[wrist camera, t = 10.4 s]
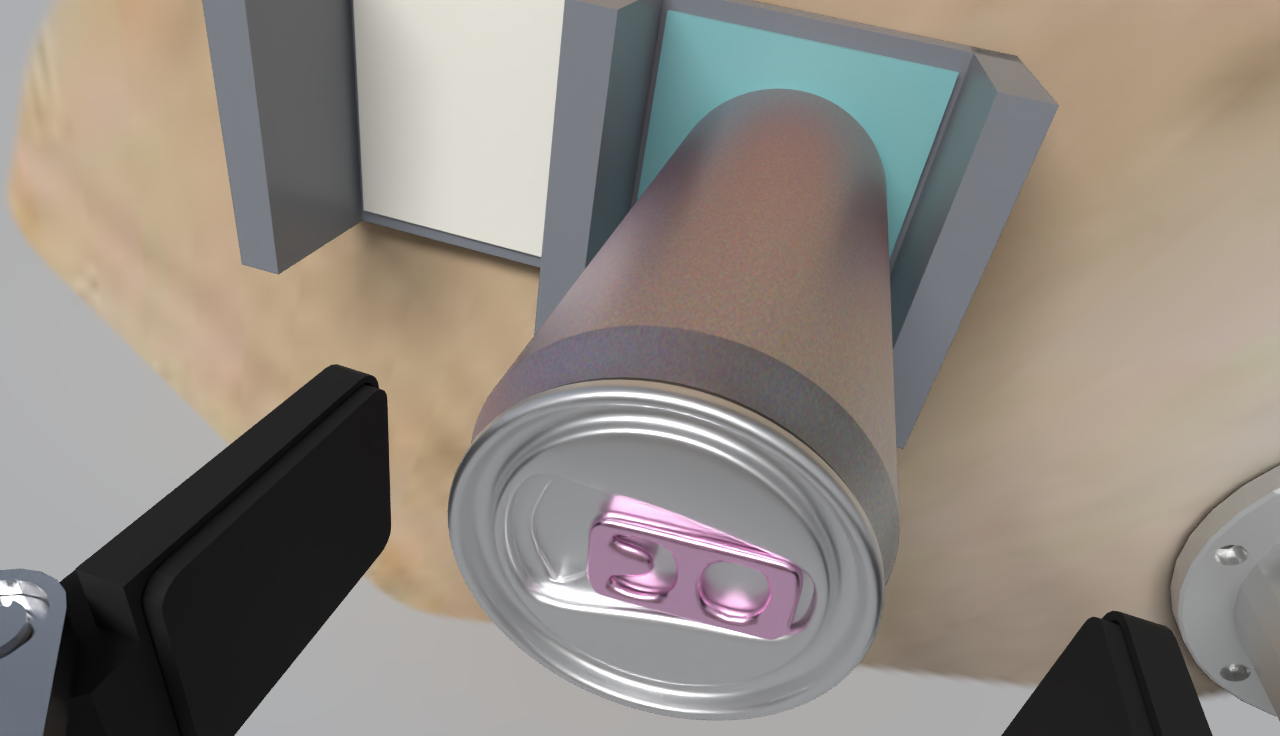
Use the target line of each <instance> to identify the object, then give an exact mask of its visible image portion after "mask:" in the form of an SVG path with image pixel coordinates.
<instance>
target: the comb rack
mask: <svg viewBox="0 0 1280 736" xmlns="http://www.w3.org/2000/svg"><path fill="white" fill-rule="evenodd" d="M202 3H203V10H204V16H205V23H206V29H207V36H208V43H209V49H210V56H211V62H212V69H213V76H214V82H215V89H216V96H217V102H218V109H219V115H220V122H221V129H222V135H223V142H224V148H225V155H226V162H227V168H228V175H229V181H230V188H231V195H232V201H233V208H234V215H235V221H236V228H237V234H238V241H239V248H240V254H241V261H242V264H243V265H246V266H250V267H253V268H257V269H260V270H264V271H268V272H271V273H275V274H280V273H281V272H283V271H285V270H286V269H288V268H289V267H291V266H292V265H294V264H295V263H297V262H299V261H300V260H302V259H303V258H305V257H306V256H308V255H309V254H311V253H312V252H314V251H316V250H317V249H319V248H320V247H322V246H323V245H325V244H326V243H328V242H330V241H331V240H333V239H334V238H336V237H337V236H339V235H340V234H342V233H344V232H345V231H347V230H348V229H350V228H351V227H353V226H354V225H356V224H358V223H359V222H361V221H366V222H370V223H374V224H377V225H381V226H385V227H389V228H393V229H396V230H400V231H404V232H408V233H411V234H415V235H419V236H423V237H426V238H430V239H434V240H438V241H442V242H445V243H449V244H453V245H457V246H460V247H464V248H468V249H472V250H475V251H479V252H483V253H487V254H491V255H494V256H498V257H502V258H506V259H509V260H513V261H517V262H521V263H524V264H528V265H532V266H536V267H540V277H539V288H538V299H537V310H536V321H535V332H534V335H535V334H536V333H537V332H538V330H539V329H540V328H541V326H542V325H543V324H544V322H545V321H546V320H547V318H548V317H549V316H550V315H551V313H552V312H553V311H554V309H555V308H556V307H557V305H558V304H559V303H560V301H561V300H562V299H563V297H564V296H565V295H566V294H567V292H568V291H569V290H570V288H571V287H572V286H573V284H574V283H575V282H576V280H577V279H578V278H579V277H580V275H581V274H582V273H583V271H584V270H585V269H586V267H587V266H588V265H589V263H590V262H591V261H592V260H593V258H594V257H595V256H596V254H597V253H598V252H599V250H600V249H601V248H602V246H603V245H604V244H605V243H606V241H607V240H608V239H609V237H610V236H611V235H612V233H613V232H614V231H615V229H616V228H617V227H618V225H619V224H620V223H621V222H622V220H623V219H624V218H625V216H626V215H627V214H628V212H629V211H630V210H631V208H632V207H633V206H634V205H635V203H636V202H637V201H638V199H639V198H640V197H641V195H642V194H643V193H644V191H645V190H646V189H647V188H648V186H649V185H650V184H651V182H652V181H653V180H654V178H655V177H656V176H657V174H658V173H659V172H660V171H661V169H662V168H663V167H664V165H665V164H666V163H667V161H668V160H669V159H670V157H671V156H672V155H673V153H674V152H675V151H676V150H677V148H678V147H679V146H680V144H681V143H682V142H683V140H684V139H685V138H686V136H687V135H688V134H689V133H690V131H691V130H692V129H693V128H694V126H695V125H696V124H697V123H698V122H699V121H700V120H701V119H702V118H703V117H704V116H706V115H707V114H708V113H709V112H710V111H712V110H713V109H715V108H716V107H717V106H719V105H721V104H722V103H724V102H726V101H728V100H730V99H732V98H734V97H737V96H739V95H742V94H745V93H749V92H753V91H757V90H764V89H793V90H799V91H804V92H808V93H812V94H815V95H817V96H820V97H822V98H825V99H827V100H829V101H831V102H833V103H834V104H836V105H838V106H839V107H841V108H842V109H844V110H845V111H846V112H848V113H849V114H850V115H851V116H852V117H853V118H854V119H855V120H857V121H858V122H859V124H860V125H861V126H862V127H863V128H864V129H865V131H866V132H867V133H868V135H869V136H870V138H871V140H872V141H873V143H874V145H875V147H876V149H877V151H878V153H879V155H880V158H881V161H882V164H883V168H884V172H885V177H886V187H887V213H888V240H889V266H890V293H891V319H892V346H893V372H894V399H895V425H896V447H897V448H901V449H903V448H904V446H905V444H906V442H907V440H908V437H909V435H910V433H911V431H912V429H913V426H914V424H915V422H916V420H917V418H918V415H919V413H920V411H921V409H922V406H923V404H924V402H925V400H926V398H927V395H928V393H929V391H930V389H931V387H932V384H933V382H934V380H935V378H936V376H937V373H938V371H939V369H940V367H941V365H942V362H943V360H944V358H945V356H946V354H947V351H948V349H949V347H950V345H951V342H952V340H953V338H954V336H955V334H956V331H957V329H958V327H959V325H960V323H961V320H962V318H963V316H964V314H965V312H966V309H967V307H968V305H969V303H970V301H971V298H972V296H973V294H974V292H975V290H976V287H977V285H978V283H979V281H980V278H981V276H982V274H983V272H984V270H985V267H986V265H987V263H988V261H989V259H990V256H991V254H992V252H993V250H994V248H995V245H996V243H997V241H998V239H999V237H1000V234H1001V232H1002V230H1003V228H1004V226H1005V223H1006V221H1007V219H1008V217H1009V214H1010V212H1011V210H1012V208H1013V206H1014V203H1015V201H1016V199H1017V197H1018V195H1019V192H1020V190H1021V188H1022V186H1023V184H1024V181H1025V179H1026V177H1027V175H1028V173H1029V170H1030V168H1031V166H1032V164H1033V162H1034V159H1035V157H1036V155H1037V153H1038V150H1039V148H1040V146H1041V144H1042V142H1043V139H1044V137H1045V135H1046V133H1047V131H1048V128H1049V126H1050V124H1051V122H1052V120H1053V117H1054V115H1055V113H1056V111H1057V109H1058V106H1059V105H1058V104H1057V102H1056V101H1055V100H1054V99H1053V98H1052V96H1051V95H1050V94H1049V93H1048V92H1047V91H1046V89H1045V88H1044V87H1043V86H1042V85H1041V84H1040V82H1039V81H1038V80H1037V79H1036V78H1035V77H1034V75H1033V74H1032V73H1031V72H1030V71H1029V70H1028V68H1027V67H1026V66H1025V65H1024V64H1023V63H1022V61H1021V60H1020V59H1019V58H1018V57H1017V56H1014V55H1009V54H1004V53H1000V52H995V51H990V50H985V49H981V48H976V47H971V46H966V45H962V44H957V43H952V42H947V41H943V40H938V39H933V38H928V37H924V36H919V35H914V34H909V33H905V32H900V31H895V30H890V29H885V28H881V27H876V26H871V25H866V24H862V23H857V22H852V21H847V20H843V19H838V18H833V17H828V16H824V15H819V14H814V13H809V12H805V11H800V10H795V9H790V8H786V7H781V6H776V5H771V4H767V3H762V2H757V1H752V0H202Z"/></svg>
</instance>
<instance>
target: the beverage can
mask: <svg viewBox="0 0 1280 736" xmlns="http://www.w3.org/2000/svg"><path fill="white" fill-rule="evenodd" d="M448 527H449V535H450V541H451V545H452V550H453V553H454V556H455V559H456V562H457V565H458V567H459V570H460V572H461V574H462V576H463V578H464V580H465V582H466V584H467V586H468V588H469V589H470V591H471V593H472V594H473V596H474V597H475V599H476V600H477V602H478V603H479V605H480V606H481V608H482V609H483V610H484V611H485V613H486V614H487V615H488V617H489V618H490V619H491V620H492V621H493V622H494V623H495V624H496V626H497V627H498V628H499V629H500V630H501V631H502V632H503V633H504V634H505V635H506V636H507V637H508V638H509V639H510V640H512V641H513V642H514V643H515V644H516V645H517V646H518V647H519V648H521V649H522V650H523V651H524V652H526V653H527V654H528V655H530V656H531V657H532V658H533V659H535V660H536V661H537V662H539V663H540V664H542V665H543V666H545V667H546V668H548V669H549V670H551V671H552V672H554V673H555V674H557V675H559V676H561V677H562V678H564V679H566V680H567V681H569V682H571V683H573V684H575V685H577V686H579V687H581V688H583V689H585V690H587V691H589V692H591V693H594V694H596V695H599V696H601V697H603V698H606V699H608V700H611V701H614V702H617V703H620V704H622V705H626V706H629V707H632V708H635V709H639V710H643V711H647V712H651V713H655V714H660V715H666V716H671V717H678V718H686V719H696V720H738V719H749V718H755V717H761V716H766V715H771V714H775V713H779V712H783V711H785V710H789V709H792V708H795V707H797V706H800V705H803V704H805V703H807V702H809V701H811V700H813V699H816V698H817V697H819V696H821V695H822V694H824V693H826V692H827V691H829V690H830V689H832V688H833V687H834V686H836V685H837V684H838V683H839V682H841V681H842V680H843V679H844V678H845V677H846V676H848V674H849V673H850V672H851V671H852V670H853V669H854V668H855V667H856V666H857V665H858V663H859V662H860V661H861V660H862V658H863V657H864V656H865V654H866V652H867V651H868V649H869V647H870V646H871V644H872V642H873V639H874V637H875V635H876V632H877V629H878V626H879V623H880V620H881V616H882V610H883V605H884V591H885V586H886V583H887V581H888V579H889V577H890V574H891V572H892V569H893V566H894V563H895V559H896V555H897V550H898V543H899V505H898V478H897V452H896V425H895V399H894V372H893V346H892V319H891V293H890V266H889V240H888V213H887V187H886V177H885V172H884V168H883V164H882V161H881V158H880V155H879V153H878V151H877V149H876V147H875V145H874V143H873V141H872V140H871V138H870V136H869V135H868V133H867V132H866V131H865V129H864V128H863V127H862V126H861V125H860V124H859V122H858V121H857V120H855V119H854V118H853V117H852V116H851V115H850V114H849V113H848V112H846V111H845V110H844V109H842V108H841V107H839V106H838V105H836V104H834V103H833V102H831V101H829V100H827V99H825V98H822V97H820V96H817V95H815V94H812V93H808V92H804V91H799V90H793V89H764V90H757V91H753V92H749V93H745V94H742V95H739V96H737V97H734V98H732V99H730V100H728V101H726V102H724V103H722V104H721V105H719V106H717V107H716V108H715V109H713V110H712V111H710V112H709V113H708V114H707V115H706V116H704V117H703V118H702V119H701V120H700V121H699V122H698V123H697V124H696V125H695V126H694V128H693V129H692V130H691V131H690V133H689V134H688V135H687V136H686V138H685V139H684V140H683V142H682V143H681V144H680V146H679V147H678V148H677V150H676V151H675V152H674V153H673V155H672V156H671V157H670V159H669V160H668V161H667V163H666V164H665V165H664V167H663V168H662V169H661V171H660V172H659V173H658V174H657V176H656V177H655V178H654V180H653V181H652V182H651V184H650V185H649V186H648V188H647V189H646V190H645V191H644V193H643V194H642V195H641V197H640V198H639V199H638V201H637V202H636V203H635V205H634V206H633V207H632V208H631V210H630V211H629V212H628V214H627V215H626V216H625V218H624V219H623V220H622V222H621V223H620V224H619V225H618V227H617V228H616V229H615V231H614V232H613V233H612V235H611V236H610V237H609V239H608V240H607V241H606V243H605V244H604V245H603V246H602V248H601V249H600V250H599V252H598V253H597V254H596V256H595V257H594V258H593V260H592V261H591V262H590V263H589V265H588V266H587V267H586V269H585V270H584V271H583V273H582V274H581V275H580V277H579V278H578V279H577V280H576V282H575V283H574V284H573V286H572V287H571V288H570V290H569V291H568V292H567V294H566V295H565V296H564V297H563V299H562V300H561V301H560V303H559V304H558V305H557V307H556V308H555V309H554V311H553V312H552V313H551V315H550V316H549V317H548V318H547V320H546V321H545V322H544V324H543V325H542V326H541V328H540V329H539V330H538V332H537V333H536V334H535V335H534V337H533V338H532V339H531V341H530V342H529V343H528V345H527V346H526V347H525V349H524V350H523V351H522V352H521V354H520V355H519V356H518V358H517V359H516V360H515V362H514V363H513V364H512V366H511V367H510V368H509V369H508V371H507V372H506V373H505V375H504V376H503V377H502V379H501V380H500V381H499V383H498V384H497V385H496V387H495V388H494V389H493V391H492V392H491V394H490V395H489V396H488V398H487V400H486V402H485V403H484V405H483V407H482V409H481V411H480V414H479V416H478V418H477V421H476V424H475V427H474V431H473V435H472V440H471V445H470V446H469V448H468V449H467V451H466V453H465V454H464V456H463V458H462V460H461V461H460V463H459V466H458V468H457V470H456V473H455V476H454V479H453V482H452V485H451V489H450V495H449V502H448Z"/></svg>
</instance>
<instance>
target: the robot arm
mask: <svg viewBox="0 0 1280 736" xmlns="http://www.w3.org/2000/svg"><path fill="white" fill-rule="evenodd" d="M390 532H391V507H390V474H389V441H388V407H387V395H386V393H385V391H383V390H381V389H379V386H378V381H377V380H376V378H375V377H374V376H372V375H369V374H366V373H363V372H359V371H356V370H353V369H350V368H347V367H344V366H340V365H337V364H336V365H330V366H329V367H327V368H325V369H324V370H323V371H322V372H320V373H319V374H318V375H317V376H315V377H314V378H313V379H312V380H310V381H309V382H308V383H307V384H305V385H304V386H303V387H302V388H300V389H299V390H298V391H297V392H295V393H294V394H293V395H292V396H290V397H289V398H288V399H287V400H285V401H284V402H283V403H282V404H280V405H279V406H278V407H277V408H275V409H274V410H273V411H272V412H270V413H269V414H268V415H267V416H265V417H264V418H263V419H262V420H260V421H259V422H258V423H257V424H255V425H254V426H253V427H252V428H250V429H249V430H248V431H247V432H245V433H244V434H243V435H242V436H240V437H239V438H238V439H237V440H235V441H234V442H233V443H232V444H230V445H229V446H228V447H227V448H225V449H224V450H223V451H222V452H221V453H219V454H218V455H217V456H216V457H214V458H213V459H212V460H211V461H209V462H208V463H207V464H206V465H204V466H203V467H202V468H201V469H199V470H198V471H197V472H196V473H194V474H193V475H192V476H191V477H189V478H188V479H187V480H186V481H184V482H183V483H182V484H181V485H180V486H178V487H177V488H176V489H174V490H173V491H172V492H171V493H169V494H168V495H167V496H166V497H164V498H163V499H162V500H161V501H159V502H158V503H157V504H156V505H154V506H153V507H152V508H151V509H149V510H148V511H147V512H146V513H144V514H143V515H142V516H141V517H139V518H138V519H137V520H136V521H134V522H133V523H132V524H131V525H129V526H128V527H127V528H126V529H124V530H123V531H122V532H121V533H119V534H118V535H117V536H116V537H114V538H113V539H112V540H111V541H109V542H108V543H107V544H106V545H105V546H103V547H102V548H101V549H100V550H98V551H97V552H96V553H94V554H93V555H92V556H91V557H90V558H88V559H87V560H86V561H85V562H83V563H82V564H81V565H79V566H78V567H77V568H76V570H74V571H73V572H72V573H71V574H70V575H68V576H67V577H66V578H64V579H63V580H62V581H61V582H58V580H57V579H54V578H53V577H51V576H49V575H47V574H45V573H43V572H40V571H32V570H26V569H10V570H0V736H234V735H235V734H236V733H237V731H238V730H239V729H240V728H241V726H242V725H243V724H244V723H245V721H246V720H247V719H248V718H249V716H250V715H251V714H252V713H253V711H254V710H255V709H256V708H257V706H258V705H259V704H260V703H261V701H262V700H263V699H264V697H265V696H266V695H267V694H268V693H269V692H270V690H271V689H272V688H273V687H274V685H275V684H276V683H277V681H278V680H279V679H280V678H281V677H282V675H283V674H284V673H285V672H286V670H287V669H288V668H289V667H290V665H291V664H292V663H293V662H294V660H295V659H296V658H297V657H298V655H299V654H300V653H301V652H302V650H303V649H304V648H305V647H306V645H307V644H308V643H309V642H310V641H311V639H312V638H313V637H314V636H315V634H316V633H317V632H318V631H319V629H320V628H321V627H322V626H323V624H324V623H325V622H326V621H327V619H328V618H329V617H330V616H331V614H332V613H333V612H334V611H335V610H336V608H337V607H338V606H339V605H340V603H341V602H342V601H343V600H344V598H345V597H346V596H347V595H348V593H349V592H350V591H351V590H352V588H353V587H354V586H355V585H356V583H357V582H358V581H359V580H360V578H361V577H362V576H363V575H364V573H365V572H366V571H367V570H368V569H369V567H370V566H371V565H372V564H373V562H374V561H375V560H376V559H377V557H378V556H379V555H380V554H381V552H382V551H383V549H384V547H385V546H386V544H387V541H388V539H389V536H390ZM1170 589H1171V602H1172V612H1173V614H1174V617H1175V619H1176V622H1177V625H1178V628H1179V630H1180V633H1181V636H1182V638H1183V641H1184V643H1185V645H1186V646H1187V648H1188V650H1189V651H1190V653H1191V655H1192V657H1193V658H1194V660H1195V662H1196V664H1197V665H1198V666H1199V667H1200V668H1201V669H1202V670H1203V671H1204V672H1205V673H1206V674H1207V675H1208V676H1209V678H1210V679H1212V680H1213V681H1214V682H1215V683H1216V684H1218V685H1219V686H1221V687H1222V688H1224V689H1225V690H1227V691H1228V692H1229V693H1231V694H1232V695H1234V696H1235V697H1237V698H1239V699H1240V700H1241V701H1243V702H1245V703H1248V704H1250V705H1252V706H1254V707H1256V708H1259V709H1261V710H1263V711H1265V712H1267V713H1269V714H1272V715H1274V716H1277V717H1278V718H1279V720H1280V465H1279V466H1277V467H1275V468H1274V469H1272V470H1270V471H1268V472H1266V473H1265V474H1263V475H1261V476H1259V477H1258V478H1256V479H1254V480H1252V481H1250V482H1249V483H1247V484H1245V485H1243V486H1242V487H1241V488H1240V489H1238V490H1237V491H1236V492H1234V493H1233V494H1232V495H1231V496H1229V497H1228V498H1227V499H1226V500H1224V501H1223V502H1222V503H1220V504H1219V505H1218V506H1217V507H1215V508H1214V509H1213V510H1212V511H1211V512H1210V513H1209V514H1208V515H1207V517H1206V518H1205V519H1204V520H1203V521H1202V522H1201V523H1200V525H1199V526H1198V527H1197V528H1196V529H1195V530H1194V531H1193V533H1192V534H1191V535H1190V536H1189V538H1188V540H1187V542H1186V544H1185V546H1184V548H1183V549H1182V551H1181V553H1180V555H1179V557H1178V559H1177V560H1176V564H1175V568H1174V573H1173V577H1172V581H1171V586H1170ZM1002 736H1212V733H1211V730H1210V728H1209V725H1208V722H1207V720H1206V717H1205V715H1204V712H1203V709H1202V707H1201V704H1200V701H1199V699H1198V696H1197V693H1196V691H1195V688H1194V685H1193V683H1192V680H1191V677H1190V675H1189V672H1188V669H1187V667H1186V664H1185V661H1184V659H1183V656H1182V653H1181V651H1180V648H1179V646H1178V643H1177V640H1176V638H1175V636H1174V634H1173V633H1172V631H1171V630H1170V629H1168V628H1167V627H1166V626H1163V625H1159V624H1156V623H1153V622H1150V621H1147V620H1144V619H1140V618H1137V617H1134V616H1131V615H1128V614H1125V613H1121V612H1118V611H1111V612H1109V613H1107V614H1106V615H1105V616H1104V617H1103V618H1102V619H1100V618H1097V617H1091V618H1089V619H1088V620H1087V621H1086V622H1085V623H1084V624H1083V626H1082V627H1081V628H1080V630H1079V631H1078V632H1077V634H1076V635H1075V636H1074V638H1073V639H1072V641H1071V642H1070V643H1069V645H1068V646H1067V647H1066V649H1065V650H1064V651H1063V653H1062V654H1061V655H1060V657H1059V658H1058V660H1057V661H1056V662H1055V664H1054V665H1053V666H1052V668H1051V669H1050V670H1049V672H1048V673H1047V674H1046V676H1045V677H1044V679H1043V680H1042V681H1041V683H1040V684H1039V685H1038V687H1037V688H1036V689H1035V691H1034V692H1033V693H1032V695H1031V696H1030V698H1029V699H1028V700H1027V702H1026V703H1025V704H1024V706H1023V707H1022V709H1021V710H1020V711H1019V712H1018V714H1017V715H1016V717H1015V718H1014V719H1013V721H1012V722H1011V723H1010V725H1009V726H1008V727H1007V729H1006V730H1005V731H1004V733H1003V734H1002Z"/></svg>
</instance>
